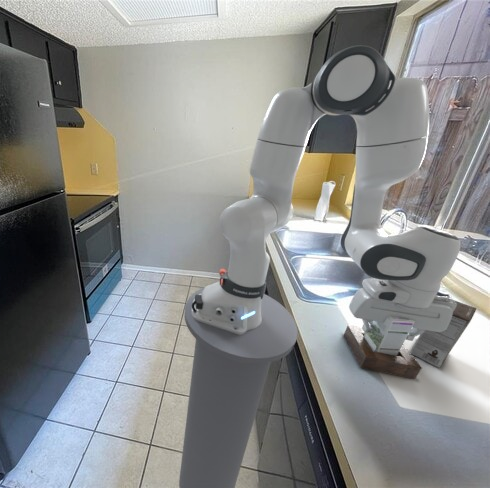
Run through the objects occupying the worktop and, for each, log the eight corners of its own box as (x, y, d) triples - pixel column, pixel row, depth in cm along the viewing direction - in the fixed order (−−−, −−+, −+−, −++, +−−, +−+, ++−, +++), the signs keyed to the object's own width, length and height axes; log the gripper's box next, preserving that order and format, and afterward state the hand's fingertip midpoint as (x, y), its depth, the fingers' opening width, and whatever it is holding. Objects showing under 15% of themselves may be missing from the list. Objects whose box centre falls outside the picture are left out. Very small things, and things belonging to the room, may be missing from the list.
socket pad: (360, 367, 67) (366, 356, 65) (343, 335, 78) (347, 324, 76) (415, 379, 64) (422, 367, 63) (389, 343, 75) (394, 333, 74)
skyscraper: (325, 222, 177) (338, 182, 166) (312, 220, 181) (323, 180, 170) (325, 219, 184) (337, 180, 172) (313, 217, 188) (324, 178, 176)
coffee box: (417, 339, 77) (443, 295, 71) (446, 353, 73) (477, 307, 66) (408, 353, 72) (435, 306, 66) (439, 369, 68) (472, 321, 61)
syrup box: (393, 364, 68) (417, 321, 62) (370, 362, 69) (392, 319, 63) (378, 347, 74) (399, 306, 68) (357, 346, 74) (376, 305, 68)
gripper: (450, 291, 63) (424, 334, 69) (356, 278, 67) (339, 319, 73) (471, 307, 57) (441, 352, 63) (367, 291, 62) (348, 335, 67)
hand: (386, 334), depth 68 cm, fingers open, 8 cm apart
